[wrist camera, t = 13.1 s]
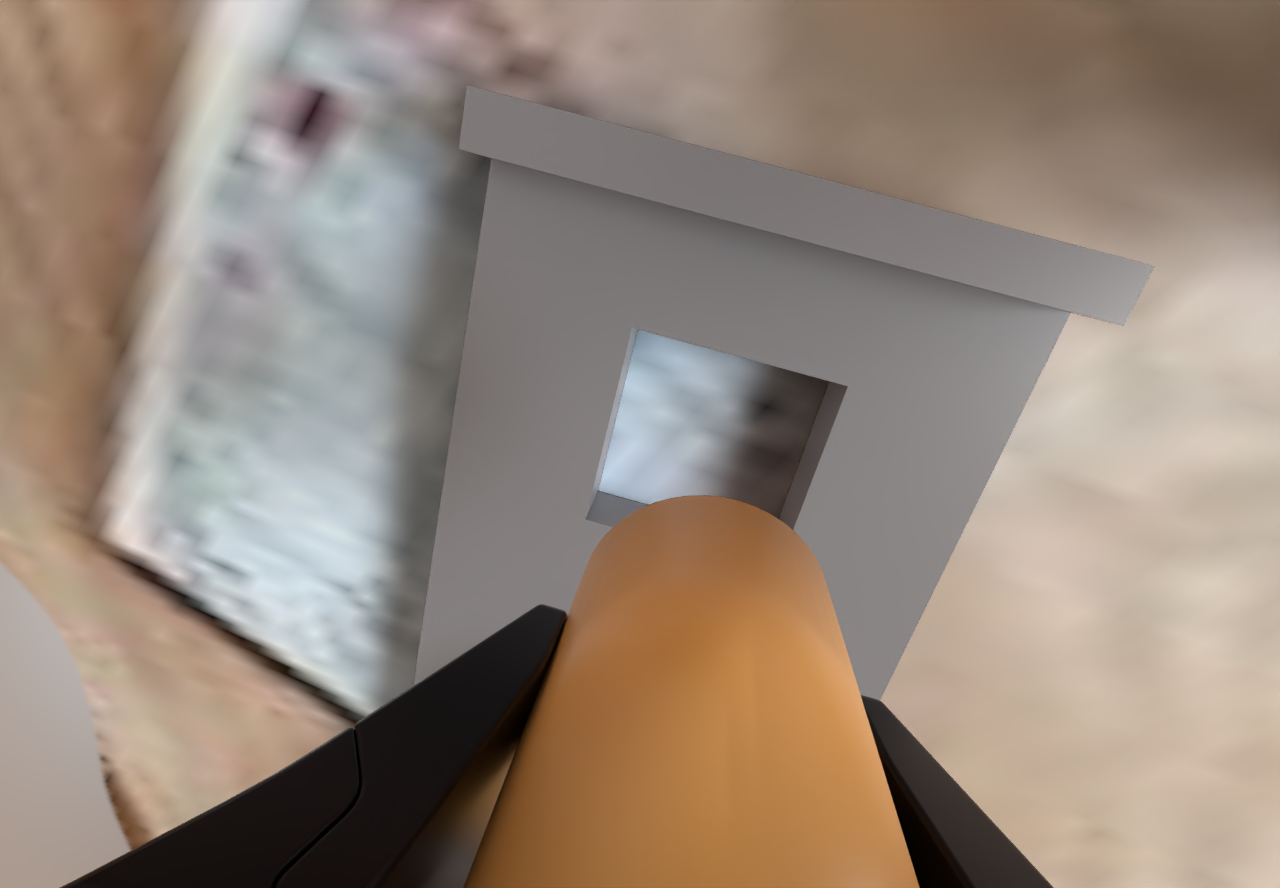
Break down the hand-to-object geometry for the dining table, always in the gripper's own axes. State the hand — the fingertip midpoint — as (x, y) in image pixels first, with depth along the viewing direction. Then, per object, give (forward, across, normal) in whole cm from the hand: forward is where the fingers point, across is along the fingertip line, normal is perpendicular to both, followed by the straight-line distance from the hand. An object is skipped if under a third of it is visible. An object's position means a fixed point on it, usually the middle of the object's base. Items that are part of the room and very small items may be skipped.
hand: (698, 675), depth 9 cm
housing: (+10, 0, +5) cm, 12 cm away
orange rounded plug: (+2, 0, 0) cm, 2 cm away
